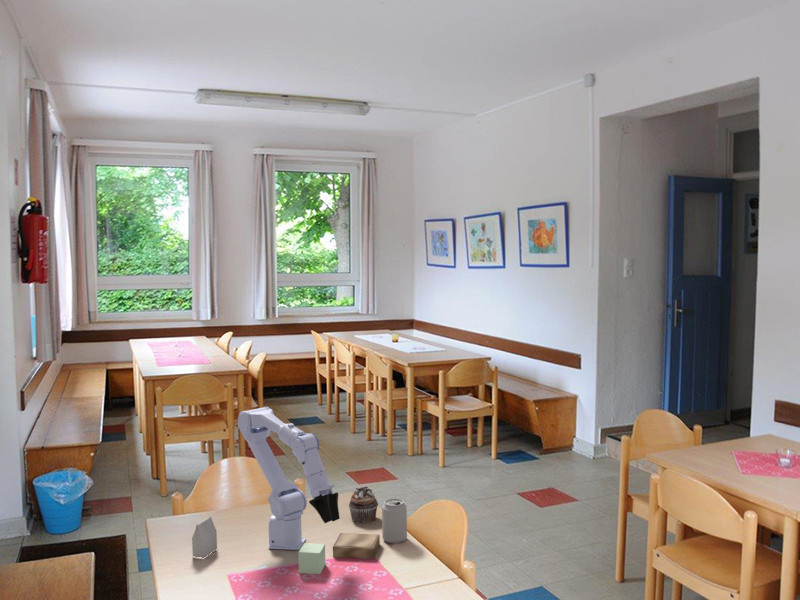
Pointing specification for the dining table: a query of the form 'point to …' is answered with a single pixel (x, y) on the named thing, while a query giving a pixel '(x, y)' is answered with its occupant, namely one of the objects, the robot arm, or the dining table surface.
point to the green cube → (311, 558)
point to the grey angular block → (204, 538)
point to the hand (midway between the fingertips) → (332, 521)
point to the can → (394, 521)
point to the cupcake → (363, 505)
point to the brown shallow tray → (356, 545)
